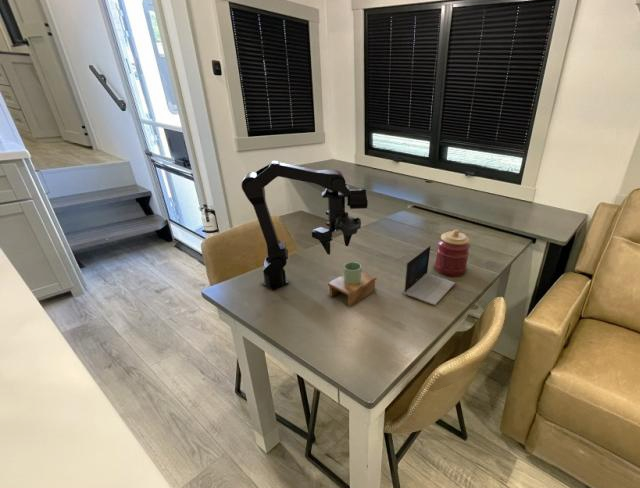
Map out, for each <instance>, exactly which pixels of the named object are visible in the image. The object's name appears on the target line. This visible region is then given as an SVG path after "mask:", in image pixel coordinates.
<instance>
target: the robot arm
mask: <svg viewBox="0 0 640 488" xmlns="http://www.w3.org/2000/svg"><path fill="white" fill-rule="evenodd" d="M278 177H279V178H284V179H290V180H295V181H299V182H305V183H310V184H315V185H317V186H320V187H322V188H324V189H325V190H323V191H322V192H321V197H322V199H323V198H324V199H327V210H326V211H325V215H327V217H328V221H327V222H325V224H326V226H327V227H328V228H325V227H323V226H319V227H316V228H314V229H312V230H311V238H313V239H316V240H318V241H319V243H320V244H321V246H322V247H323V249H324V251H325V253H326V254H327V255H328V256H329V255H331V242H332V241H333V238H332V237H333V234H334V233H337V232H338V231H341V232H342V236H343V243H344V245H345V247H349V245H350V242H351V240H352V237H353V235H356V234H357V233H358V230H359V229H361V226H362V219H361V218H359V216H358V217H353V216H349V212H348V211H346V207H348V208H349V210H360V209H362V210H363V209H368V206H369V205H368V204H369V201H368V197H367V196H368V195H367V189H366V188H365V187H361V188H350V186H349V185H348V184H346V183H347V181H346V179H345V177H344V175H343V174H342V172H341V171H340V170H337V169H314V168H309V167H304V166H299V165H294V164H289V163H284V162H280V161H278V160H272V161H271V162H270V163H268V164H267V165H265V166H263V167H261V168H259V169H258V170H256V171H255V172H253V171H252V172H248V173H246V174H245V175H244V178H243V179H242V181H241V190H242V192H243V193H244V195H245V197H246V198H247V200H248V201H249V202H250V204H251V205H252V207H253V209H254V213H255V214H256V218H257V222H258V223H259V227H260V230H261V232H262V235H263V239H264V241H265V244H266V249H267V256H266V257H265V258H264V262H263V268H262V269H263V270H262V271H263V279H264V281H263V282H262V285H263V286H265V287H266V288H268V289H270V290H271V291H275V290H277V289H280V288H281V287H283V286H286V285H288V284H289V281H287V276H286V270H285V269H284V267H285V266H286V265H287V262H288V260H289V250H288V248H287V247H286V241H282V242H281V240H280V239H279V238H278V235H277V231H276V228H275V225H274V222H273V219H272V216H271V213H270V210H269V207H268V204H267V199H266V189H265V187H266V186H268V185H269V184H270V183H271V182H272V181H274V180H275V179H276V178H278Z"/></svg>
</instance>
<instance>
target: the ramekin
mask: <svg viewBox="0 0 640 488" xmlns="http://www.w3.org/2000/svg"><path fill="white" fill-rule="evenodd" d="M342 269H343V270H342V271H343V274H342V275H344V282H345V283H347V284H351V285H354V284H358V283H360V282H361V280H362V271H363V266H362V264H361V263H360V262H357V261H349V262H346V263H344V264H343V265H342Z"/></svg>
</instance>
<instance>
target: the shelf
mask: <svg viewBox="0 0 640 488" xmlns="http://www.w3.org/2000/svg"><path fill="white" fill-rule="evenodd" d="M376 281H377V276H375V275H372V274H370V273H368V272H366V271H363V270H362V280H361V282H360V283H358V284H354V285H351V284H347V283H345V282H344V274H342V275H340V276H338V277H336V278H334V279H333V280H330V281H328V282H327V285H328V286H329V296H330V297H331V298H332V297H335V296H337V295H338V294H339V293H343V294H344V295H346V296H347V306H348V307H352V306H353V305H354V304H356V303H357V302H359V301H360V300H362V299H364V298H365V297H367V296H369V295H370V294H371V293H373V292H375V290H376Z"/></svg>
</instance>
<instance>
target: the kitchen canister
mask: <svg viewBox="0 0 640 488" xmlns="http://www.w3.org/2000/svg"><path fill="white" fill-rule="evenodd" d="M437 244H438V246H437V248H436V257H435V261H434V262H435V263H434V267H435V270H436V271H437V272H439V273H440V274H442V275H445V276H449V277H458V276H463V274H465V272H466V271H467V265H468V264H467V263H468V259H469V256H470V251H469V249H470V248H471V244H470V238H469V237H468V236H467V235H466V234H465V233H463V232H460V231H459V230H458V229H453V230H450V231H446V232H444V233H442V234H441V235H440V238H439V239H438V241H437Z"/></svg>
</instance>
